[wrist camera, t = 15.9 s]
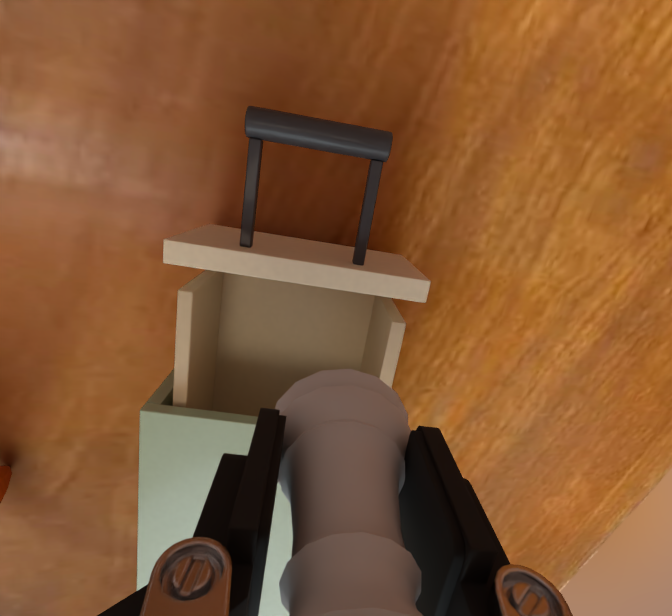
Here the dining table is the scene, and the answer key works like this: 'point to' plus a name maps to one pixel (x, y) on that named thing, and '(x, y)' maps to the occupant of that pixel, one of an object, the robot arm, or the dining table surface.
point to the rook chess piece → (346, 498)
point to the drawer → (286, 288)
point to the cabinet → (195, 484)
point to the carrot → (4, 480)
